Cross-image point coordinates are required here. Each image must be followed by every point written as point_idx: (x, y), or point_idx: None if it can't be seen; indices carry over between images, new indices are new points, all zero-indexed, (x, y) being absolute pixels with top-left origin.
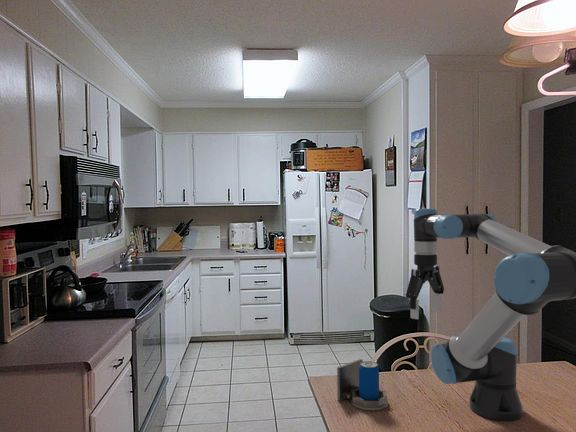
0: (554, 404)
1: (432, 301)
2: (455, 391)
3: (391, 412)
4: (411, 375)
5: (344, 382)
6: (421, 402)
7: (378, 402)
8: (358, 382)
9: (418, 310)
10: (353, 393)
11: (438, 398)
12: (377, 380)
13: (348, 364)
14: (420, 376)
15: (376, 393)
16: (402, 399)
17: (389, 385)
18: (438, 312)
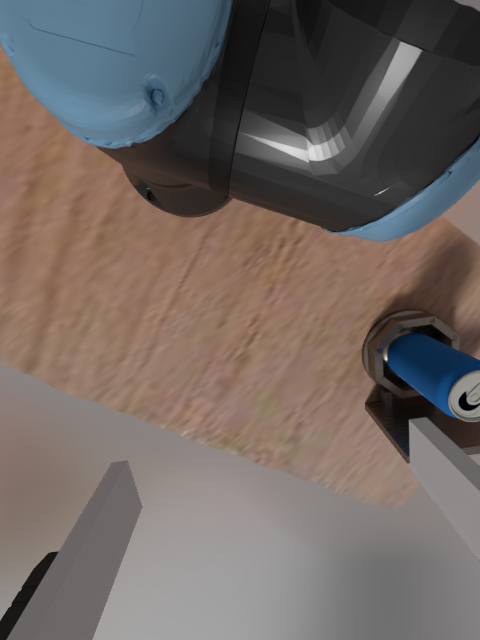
0: (12, 73)
1: (107, 593)
2: (181, 285)
3: (404, 288)
4: (197, 409)
5: None
6: (305, 287)
7: (432, 315)
8: (393, 414)
9: (463, 468)
10: None
11: (252, 280)
12: (442, 350)
13: (473, 448)
14: (182, 393)
15: (424, 338)
16: (328, 323)
17: (289, 394)
18: (128, 466)
